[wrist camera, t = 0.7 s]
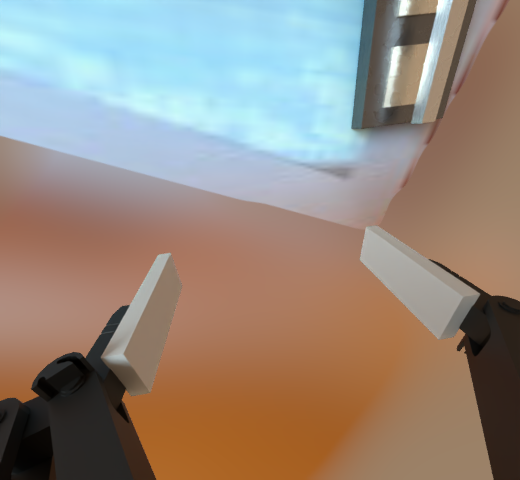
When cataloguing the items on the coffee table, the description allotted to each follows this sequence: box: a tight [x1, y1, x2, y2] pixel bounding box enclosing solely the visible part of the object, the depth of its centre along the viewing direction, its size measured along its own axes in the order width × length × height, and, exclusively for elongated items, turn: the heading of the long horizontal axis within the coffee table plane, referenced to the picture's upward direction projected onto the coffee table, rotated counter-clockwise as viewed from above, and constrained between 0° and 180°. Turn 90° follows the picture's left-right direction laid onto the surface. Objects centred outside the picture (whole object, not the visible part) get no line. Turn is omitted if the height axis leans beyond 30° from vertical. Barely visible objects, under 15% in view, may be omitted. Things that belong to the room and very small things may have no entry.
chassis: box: [352, 0, 476, 129], centre depth 27 cm, size 25×14×5 cm, turn 6°
